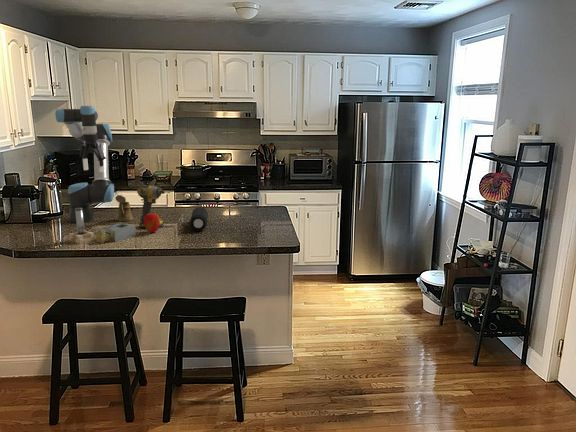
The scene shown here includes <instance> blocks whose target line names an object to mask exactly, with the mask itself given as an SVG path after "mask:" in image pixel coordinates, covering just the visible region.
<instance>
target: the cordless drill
mask: <svg viewBox="0 0 576 432" xmlns="http://www.w3.org/2000/svg"><path fill="white" fill-rule="evenodd" d="M136 193H137V195H138V196H139V197H140V198H141V199H142V200H143V204H142V215H141V217H140V219H139V220H140V222H139V224H138V226H139V227H140V228H144V229H146V228H145V226H144V217H145V215H146V214H150V213H151V211H152V205H153V204H154V205H155V204H157V200H158V199H159V198H160V197H161V196H162V195H164V194H166V193H167V194H169V193H171V192H170V191H166V190H164V189H162V187H159V186H155V185H144V184H143V185H139V186H138V187H137V189H136ZM159 218H160V217H159ZM164 223H165V222H164V220H163V219H162V218H160V224H159V228H162V227H164ZM159 228H158V229H159Z"/></svg>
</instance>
